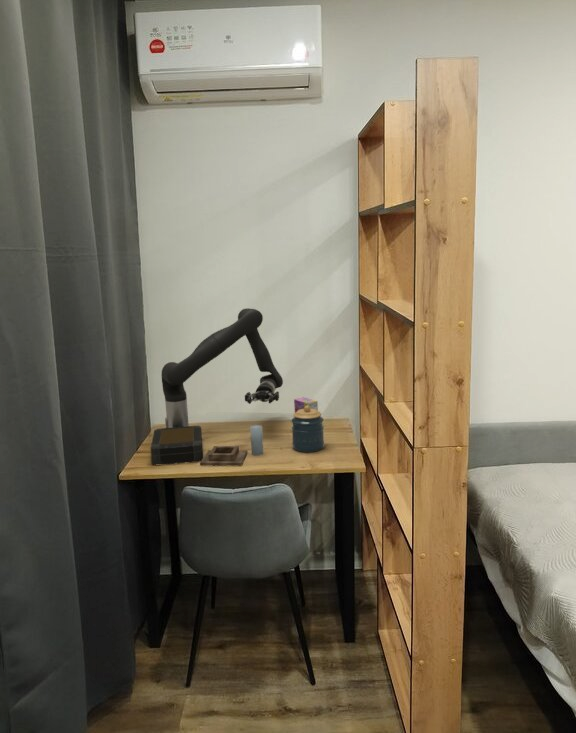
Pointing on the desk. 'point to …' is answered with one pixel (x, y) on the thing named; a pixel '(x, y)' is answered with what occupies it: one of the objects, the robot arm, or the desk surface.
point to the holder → (224, 456)
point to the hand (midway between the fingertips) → (259, 401)
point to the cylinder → (256, 440)
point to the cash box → (177, 445)
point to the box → (305, 403)
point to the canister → (307, 430)
